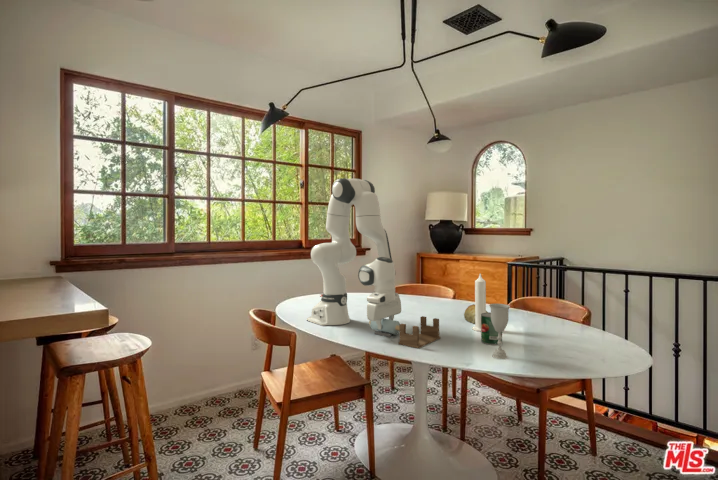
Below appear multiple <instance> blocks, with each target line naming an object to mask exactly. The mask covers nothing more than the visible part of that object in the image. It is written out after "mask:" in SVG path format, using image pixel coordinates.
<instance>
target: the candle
mask: <svg viewBox="0 0 718 480" xmlns="http://www.w3.org/2000/svg"><path fill="white" fill-rule="evenodd" d="M486 284H487V282H486V280H485V279H484V278H483V277H482V273H479V275H478V278H477V279H476V280H474V303H475V304H474V305H475V324H474V325H475V326H473V327H472V331H475V332H480V333H481V314H482V313H486V311H487V301H486V300H487V296H486V295H487V287H486V286H487V285H486Z"/></svg>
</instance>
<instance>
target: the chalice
mask: <svg viewBox="0 0 718 480" xmlns="http://www.w3.org/2000/svg"><path fill="white" fill-rule="evenodd" d="M488 306H489V308H490V312H491V321H492V324H493V326H494V328H495V330H496V331H497V332H498V337H497V338H498V342H497V343H498V345H497V348H495V350H494V351H493V353H492V357H493V358H494V359H499V360H505V359H507V358H508V355H507V352H506V351H505V350H504V349H503V348H502V344H503V341H502V342H501V339H502V340H503V336H502V337H501V332H502V333H503V332H504V331H505V329H506V327H507V325H508V323H509V309H510V307H511V305H509V304H505V303H491V304H489V305H488Z"/></svg>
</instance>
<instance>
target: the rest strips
mask: <svg viewBox="0 0 718 480" xmlns="http://www.w3.org/2000/svg"><path fill="white" fill-rule="evenodd" d="M374 335H377V336H383V337H387V338H391V337H392V335H394V336H396V335H398V334H392V333H387V332H382V331H378V330H374Z"/></svg>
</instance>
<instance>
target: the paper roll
mask: <svg viewBox="0 0 718 480" xmlns="http://www.w3.org/2000/svg"><path fill="white" fill-rule="evenodd" d="M368 324H369V326H370V329H371V330H373V331H379V332H381V331H382V332H387V333H392V334H391V335H394V334H397V335H398V334H400V329H399V324H401V322H399V321H398V320H394V319H393V320H389V318H383V319H382V321H381V324H382V325H383V329H381V330H380V329H378V325H377V323H376V321H370V320H368Z"/></svg>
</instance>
